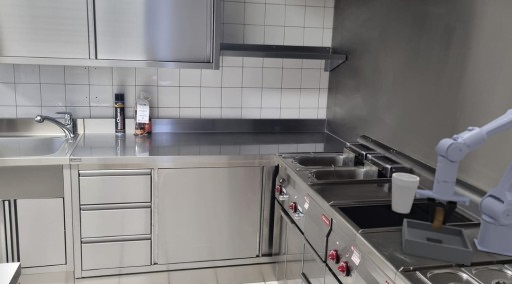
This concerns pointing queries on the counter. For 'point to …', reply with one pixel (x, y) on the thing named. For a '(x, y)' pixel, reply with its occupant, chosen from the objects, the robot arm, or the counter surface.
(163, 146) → the counter surface
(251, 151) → the counter surface
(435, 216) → the peg
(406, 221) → the box
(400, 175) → the foam cup
